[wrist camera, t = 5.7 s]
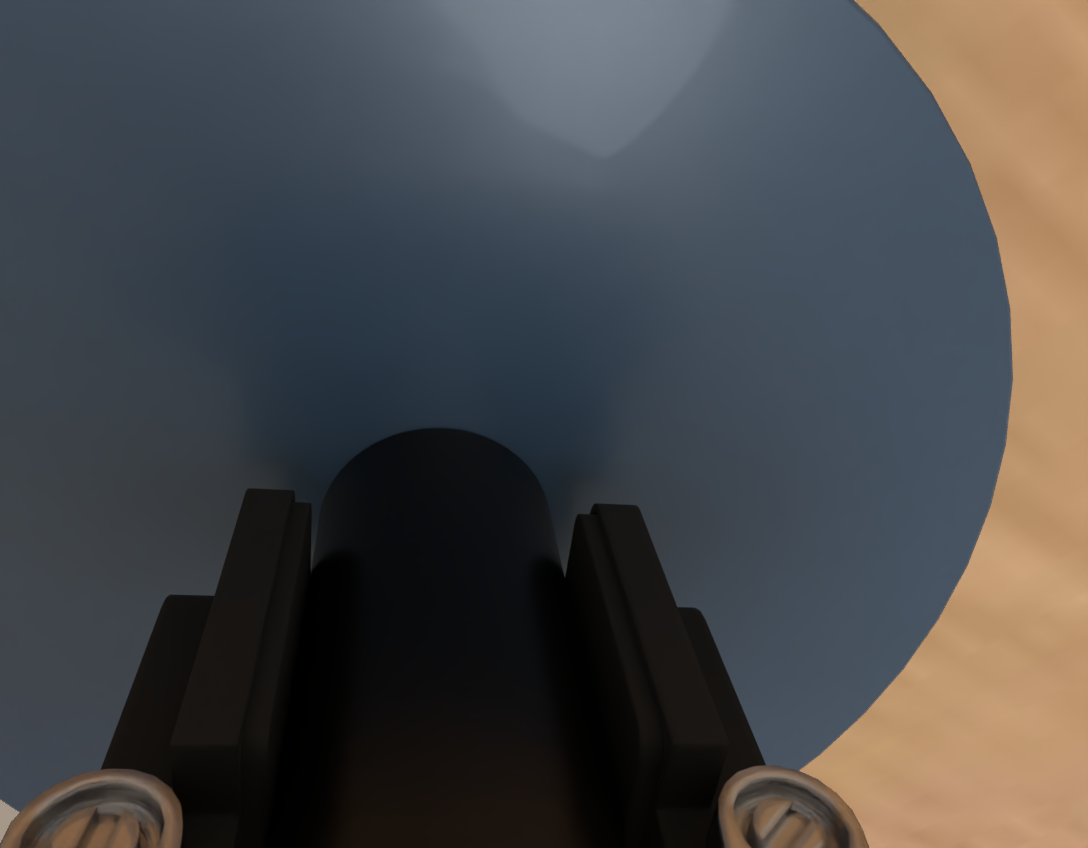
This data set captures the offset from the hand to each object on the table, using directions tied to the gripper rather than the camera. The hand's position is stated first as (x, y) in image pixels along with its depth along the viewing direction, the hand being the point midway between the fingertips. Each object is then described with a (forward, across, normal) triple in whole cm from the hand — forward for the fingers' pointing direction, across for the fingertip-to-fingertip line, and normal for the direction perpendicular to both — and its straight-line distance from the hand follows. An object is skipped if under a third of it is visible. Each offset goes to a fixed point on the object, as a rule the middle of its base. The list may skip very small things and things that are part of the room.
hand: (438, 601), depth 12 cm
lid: (+2, 0, 0) cm, 2 cm away
